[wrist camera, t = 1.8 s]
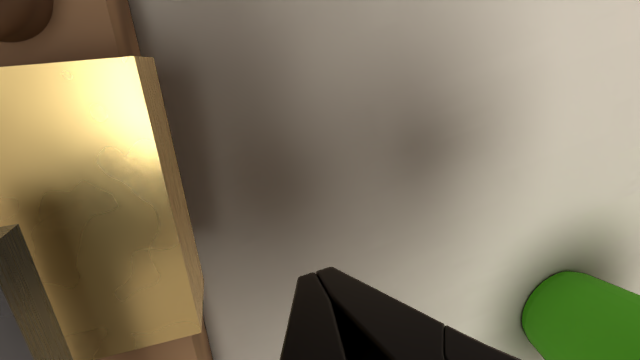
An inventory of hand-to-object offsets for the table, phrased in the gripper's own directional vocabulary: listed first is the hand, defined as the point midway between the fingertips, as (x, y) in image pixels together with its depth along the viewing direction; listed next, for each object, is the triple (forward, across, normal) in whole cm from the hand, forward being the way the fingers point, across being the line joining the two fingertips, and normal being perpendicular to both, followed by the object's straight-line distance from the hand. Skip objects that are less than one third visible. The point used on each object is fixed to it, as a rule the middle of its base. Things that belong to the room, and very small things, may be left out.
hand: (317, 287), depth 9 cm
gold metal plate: (+4, +6, -2) cm, 7 cm away
